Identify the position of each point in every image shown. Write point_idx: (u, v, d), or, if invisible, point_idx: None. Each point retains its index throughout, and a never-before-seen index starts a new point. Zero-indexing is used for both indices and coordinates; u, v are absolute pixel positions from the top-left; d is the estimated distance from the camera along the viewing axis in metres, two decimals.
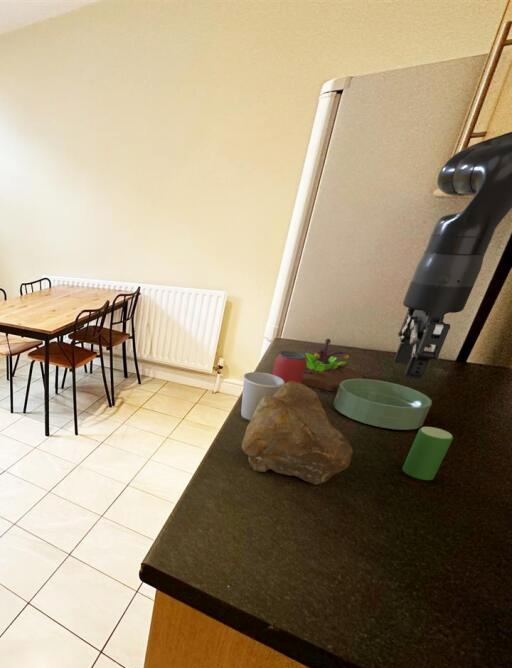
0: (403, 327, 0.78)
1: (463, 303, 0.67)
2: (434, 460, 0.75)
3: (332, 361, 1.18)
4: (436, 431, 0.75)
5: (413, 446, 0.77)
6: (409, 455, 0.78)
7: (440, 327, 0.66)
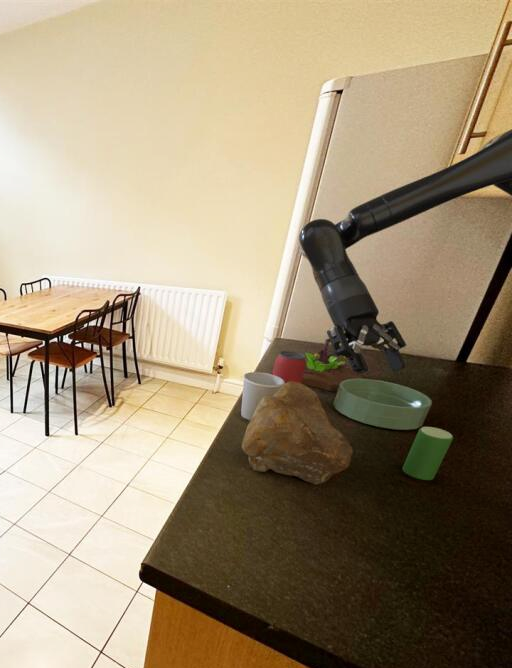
0: None
1: (356, 308, 0.85)
2: (434, 460, 0.75)
3: (332, 361, 1.18)
4: (436, 431, 0.75)
5: (413, 446, 0.77)
6: (409, 455, 0.78)
7: (332, 329, 0.86)
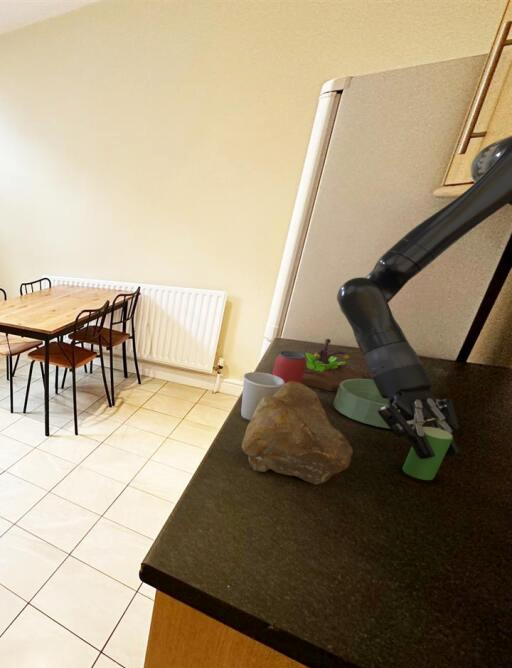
0: None
1: (407, 380, 0.76)
2: (434, 460, 0.75)
3: (332, 361, 1.18)
4: (436, 431, 0.75)
5: None
6: (409, 455, 0.78)
7: (384, 410, 0.77)
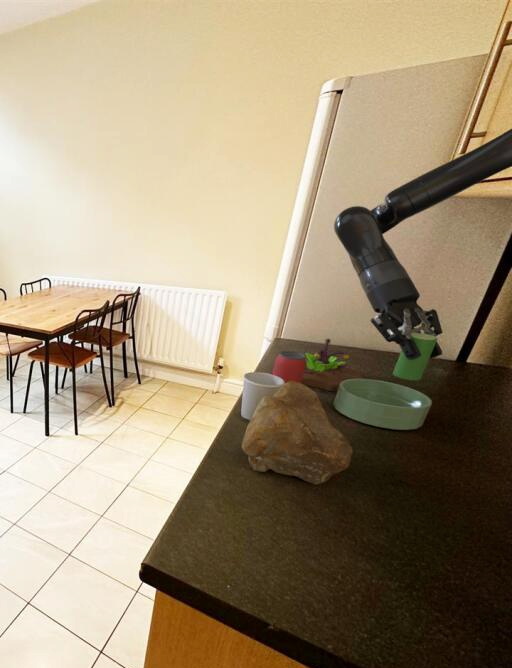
0: (423, 330, 0.88)
1: (397, 291, 0.86)
2: (420, 361, 0.84)
3: (332, 361, 1.18)
4: (422, 335, 0.84)
5: (402, 351, 0.86)
6: (399, 360, 0.87)
7: (377, 318, 0.86)
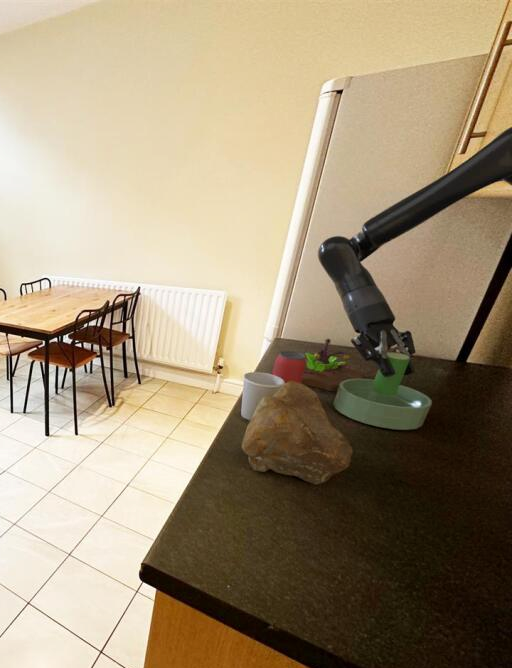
0: None
1: (375, 315, 0.95)
2: (395, 378, 0.93)
3: (332, 361, 1.18)
4: (397, 355, 0.93)
5: None
6: (376, 376, 0.96)
7: (356, 339, 0.95)
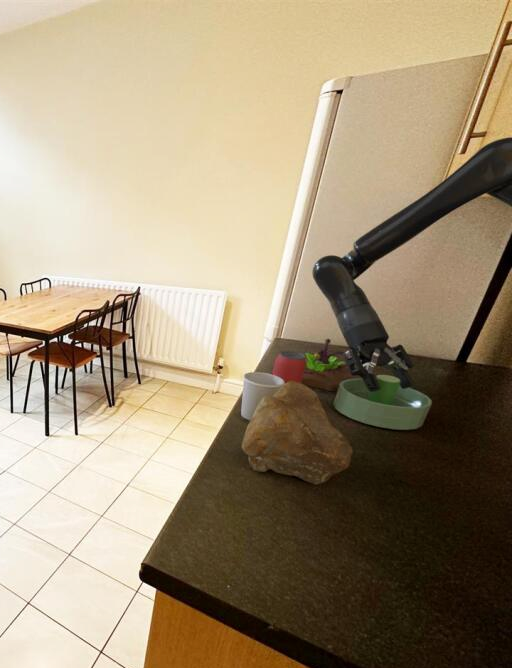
0: None
1: (369, 333, 0.96)
2: (386, 400, 0.95)
3: (332, 361, 1.18)
4: (388, 377, 0.95)
5: None
6: (368, 398, 0.98)
7: (348, 352, 0.97)
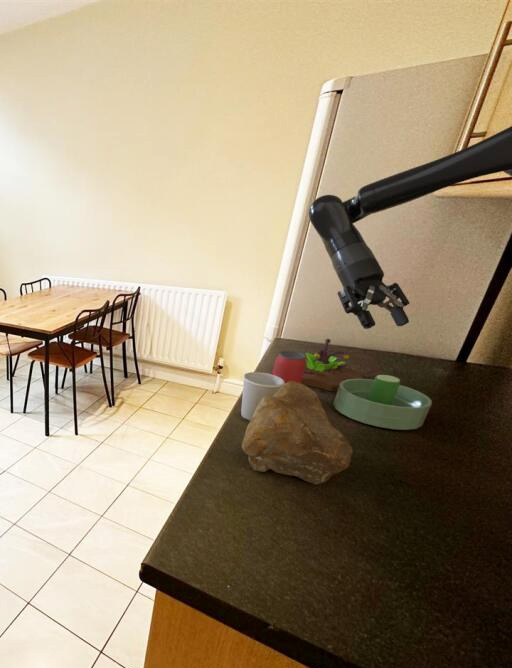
0: (391, 302, 0.97)
1: (363, 270, 0.95)
2: (386, 400, 0.95)
3: (332, 361, 1.18)
4: (388, 377, 0.95)
5: (371, 390, 0.98)
6: (368, 398, 0.98)
7: (342, 290, 0.96)
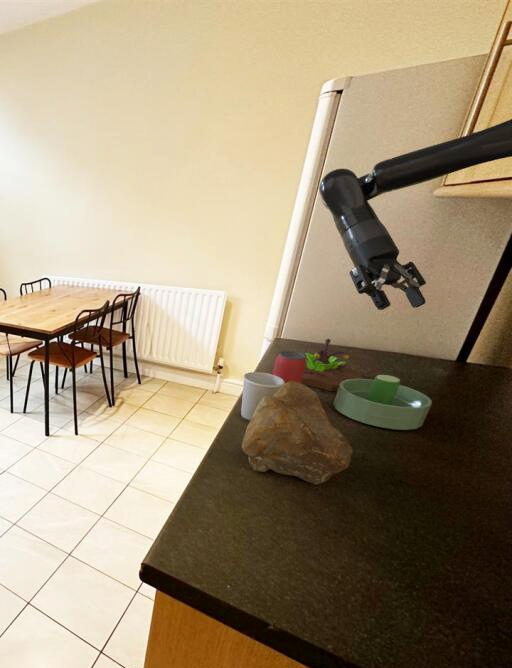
0: None
1: (377, 248, 0.89)
2: (386, 400, 0.95)
3: (332, 361, 1.18)
4: (388, 377, 0.95)
5: (371, 390, 0.98)
6: (368, 398, 0.98)
7: (355, 269, 0.90)
